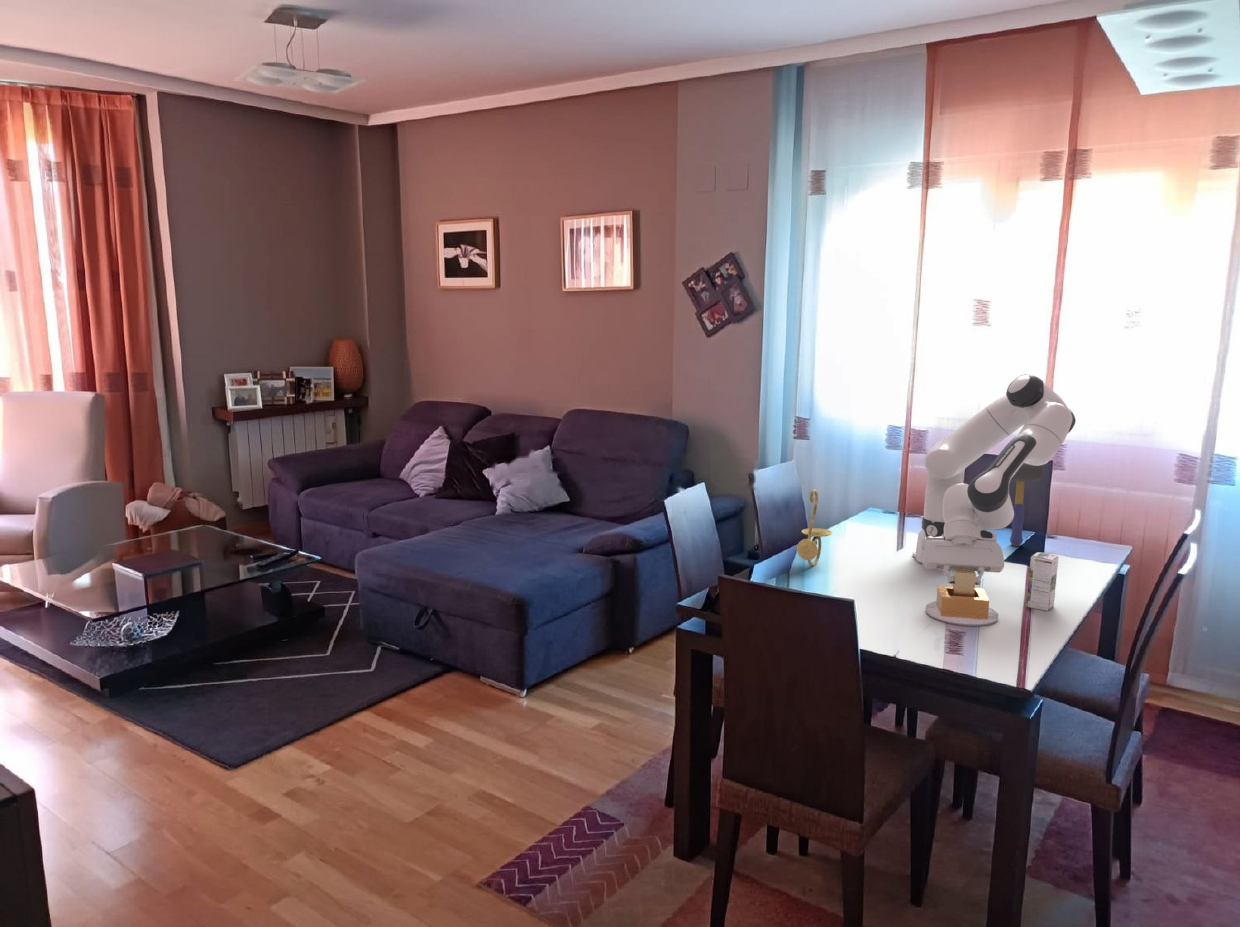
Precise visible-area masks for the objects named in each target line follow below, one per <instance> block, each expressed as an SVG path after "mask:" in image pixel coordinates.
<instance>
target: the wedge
mask: <svg viewBox="0 0 1240 927" xmlns="http://www.w3.org/2000/svg"><path fill="white" fill-rule="evenodd" d="M952 575H954V579H955V582H954V584H952V586H953V593H952V596H961V597H974V593H975V588H976V585H975V580H976V577H977V576H976V575H977V572H976V571H974V570H966V569H954V570H953V574H952Z"/></svg>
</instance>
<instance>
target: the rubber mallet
mask: <svg viewBox="0 0 1240 927" xmlns="http://www.w3.org/2000/svg"><path fill="white" fill-rule="evenodd" d="M1043 471H1044V470H1043V465H1038V466H1035V465H1029V464H1026V463H1023V464H1022V466H1021V467H1020V468H1019V470H1018V471H1017V472H1016V473H1015V475H1014V476H1013V477H1012V478H1011V480H1010V481H1016V487H1015V497H1014V498H1015V500H1014V504H1013V510H1014V519H1013V521H1012V522H1011V534H1010V537H1009V542H1010V544H1011V545H1012V546H1015V547H1018V546H1021V545H1022V544H1023V541H1024V539H1023V527H1024V526H1023V525H1024V520H1025V505H1024V495H1025V493H1024V492H1025V482H1040V481H1041V480H1042V478H1043V474H1044V473H1043Z"/></svg>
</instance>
